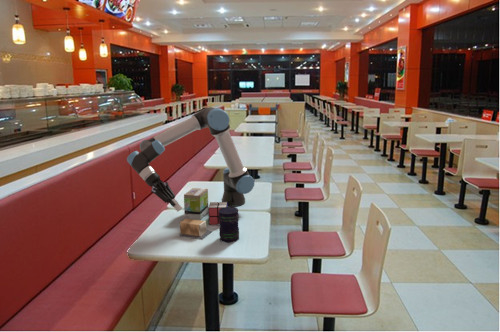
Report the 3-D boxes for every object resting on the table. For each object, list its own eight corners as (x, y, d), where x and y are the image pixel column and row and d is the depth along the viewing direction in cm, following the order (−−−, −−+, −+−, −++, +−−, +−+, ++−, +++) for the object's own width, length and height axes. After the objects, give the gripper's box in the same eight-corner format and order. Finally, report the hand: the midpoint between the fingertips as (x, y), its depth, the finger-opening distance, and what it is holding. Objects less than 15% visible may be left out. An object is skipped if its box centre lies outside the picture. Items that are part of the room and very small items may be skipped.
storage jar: (215, 239, 197) (214, 210, 194) (229, 233, 204) (228, 205, 201) (229, 244, 191) (228, 215, 187) (243, 238, 198) (242, 209, 195)
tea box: (201, 220, 224) (199, 195, 220) (184, 219, 226) (182, 194, 222) (209, 211, 238) (207, 188, 235) (193, 210, 240) (191, 187, 237)
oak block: (179, 222, 203) (200, 225, 199) (185, 218, 209) (206, 221, 204) (180, 233, 204) (201, 236, 200) (186, 229, 210) (206, 232, 205)
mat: (179, 236, 202) (179, 235, 202) (190, 228, 212) (190, 227, 212) (202, 239, 197) (202, 238, 197) (212, 231, 207) (212, 230, 207)
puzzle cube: (227, 224, 216) (226, 207, 214) (209, 225, 216) (208, 207, 214) (228, 218, 226) (227, 201, 224) (210, 218, 226) (210, 202, 224)
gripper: (153, 178, 215) (182, 210, 212) (138, 184, 203) (168, 218, 201) (161, 169, 212) (190, 201, 209) (146, 174, 200) (177, 209, 197)
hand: (179, 209), depth 205 cm, fingers closed
